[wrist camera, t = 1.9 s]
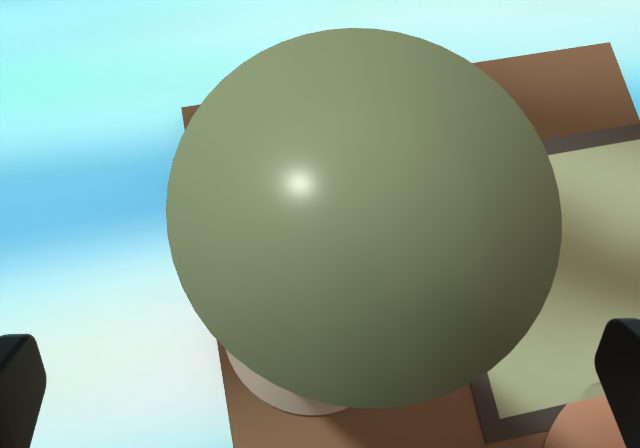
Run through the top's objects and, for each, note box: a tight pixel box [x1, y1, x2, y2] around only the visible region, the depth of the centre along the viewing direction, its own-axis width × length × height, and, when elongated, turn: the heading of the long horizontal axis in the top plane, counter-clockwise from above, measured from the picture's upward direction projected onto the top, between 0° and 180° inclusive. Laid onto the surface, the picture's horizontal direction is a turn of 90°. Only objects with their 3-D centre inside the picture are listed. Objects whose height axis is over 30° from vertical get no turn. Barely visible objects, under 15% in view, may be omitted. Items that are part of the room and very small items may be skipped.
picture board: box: [181, 42, 640, 448], centre depth 18 cm, size 18×17×1 cm
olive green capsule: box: [166, 28, 562, 409], centre depth 12 cm, size 4×4×12 cm
